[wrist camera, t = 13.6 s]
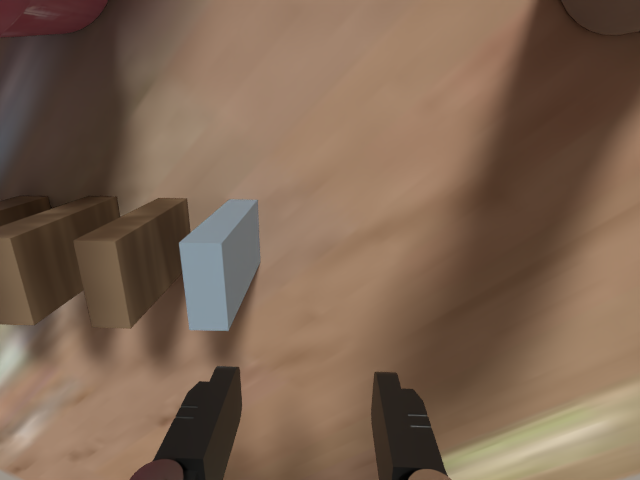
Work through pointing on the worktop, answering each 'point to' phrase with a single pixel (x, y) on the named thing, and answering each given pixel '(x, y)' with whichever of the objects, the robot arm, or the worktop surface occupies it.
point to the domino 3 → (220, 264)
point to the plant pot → (47, 16)
